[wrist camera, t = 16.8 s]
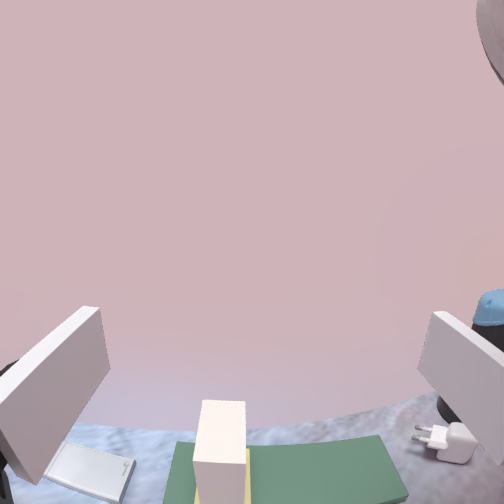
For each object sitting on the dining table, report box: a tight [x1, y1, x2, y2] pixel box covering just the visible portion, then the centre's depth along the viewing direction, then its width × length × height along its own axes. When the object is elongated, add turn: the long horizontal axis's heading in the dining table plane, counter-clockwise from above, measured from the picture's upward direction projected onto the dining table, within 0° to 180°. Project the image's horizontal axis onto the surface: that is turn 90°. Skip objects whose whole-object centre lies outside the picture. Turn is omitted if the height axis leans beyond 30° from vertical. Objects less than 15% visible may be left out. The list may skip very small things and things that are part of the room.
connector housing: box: [193, 400, 246, 504], centre depth 29 cm, size 5×10×10 cm, turn 1°
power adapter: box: [412, 422, 479, 464], centre depth 31 cm, size 11×5×6 cm, turn 54°
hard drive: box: [42, 440, 136, 504], centre depth 28 cm, size 2×8×12 cm
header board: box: [163, 435, 409, 504], centre depth 30 cm, size 30×13×6 cm, turn 91°
